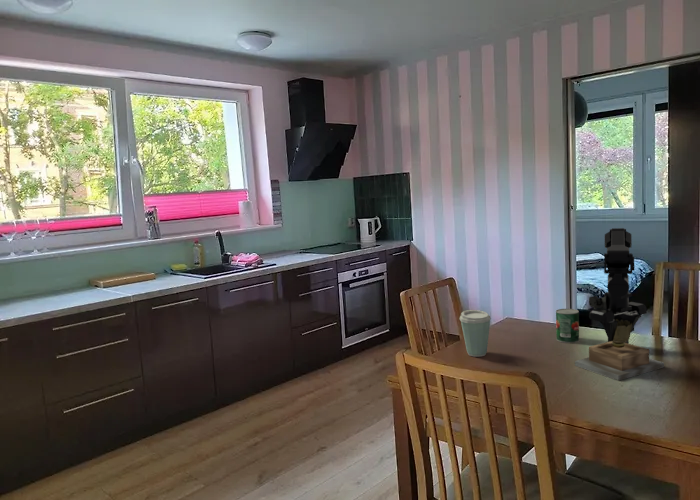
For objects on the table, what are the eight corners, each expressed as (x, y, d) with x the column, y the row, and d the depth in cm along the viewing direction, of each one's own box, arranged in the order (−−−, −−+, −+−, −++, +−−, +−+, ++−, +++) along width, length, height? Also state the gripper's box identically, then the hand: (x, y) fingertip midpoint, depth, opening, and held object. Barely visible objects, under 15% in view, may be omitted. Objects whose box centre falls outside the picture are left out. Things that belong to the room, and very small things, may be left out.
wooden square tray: (618, 353, 179) (618, 336, 178) (663, 367, 165) (664, 348, 164) (574, 365, 171) (574, 347, 170) (618, 380, 156) (618, 360, 156)
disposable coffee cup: (497, 352, 188) (496, 311, 187) (482, 361, 181) (480, 318, 179) (471, 347, 196) (469, 307, 194) (455, 355, 188) (453, 314, 186)
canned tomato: (554, 337, 202) (553, 308, 201) (575, 336, 201) (575, 308, 200) (559, 343, 194) (558, 313, 193) (581, 342, 193) (581, 313, 192)
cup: (635, 350, 163) (635, 324, 162) (609, 350, 164) (609, 325, 163) (627, 343, 170) (627, 318, 169) (602, 343, 171) (602, 318, 170)
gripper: (616, 282, 176) (617, 328, 178) (575, 290, 168) (575, 338, 170) (647, 287, 166) (647, 335, 168) (605, 295, 158) (605, 346, 160)
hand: (618, 338), depth 167 cm, fingers closed on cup, 6 cm apart
